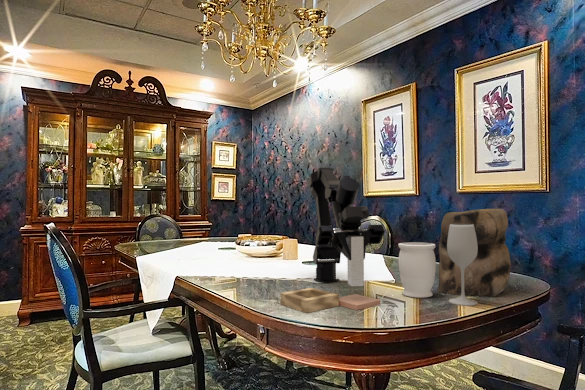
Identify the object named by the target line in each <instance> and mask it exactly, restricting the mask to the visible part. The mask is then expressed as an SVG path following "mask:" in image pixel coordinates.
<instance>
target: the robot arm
mask: <svg viewBox="0 0 585 390" xmlns="http://www.w3.org/2000/svg"><path fill="white" fill-rule="evenodd" d="M307 181H308V188H309V191H310V194H311V196H312V197H313V198H314V199H315V204H316V205H315V207H316V213H317V215H316V216H317V225H318V227H317V230H316V235H315V247H314V251H313V256H312V259H313V261H312V262H313V263H314V264H315V265H316V268H315V277H316V278H314V279H313V281H317V282H321V283H332V282H337V281H338V282H339V281H340V278H337V264H340V263H341V255H344V257H345V258H346V259H347V261H348V260H351V254H350V251H349V248H348V245H347V236H363V244H364V260H366V249H367V246H368V245H379V244H380V243H381V242H382V239H383V237H384V235H385V232H386V230H385V226H384V225H382V224H369V225H368V226H367V229H364V228H363V229H361V227H362V222H361V221H362V220H364V219H368V217H369V216H370V212H369V208H368V205H360V206H353V205H352V204H355V202H356V199H357V196H358V193H359V190H360V183H359V182H358V181H357V180H356V179H354V178H351V175H343V176H342V178H341V179H340V180H339V178H338V177H337V176H336V174H335V173H334V170H333V168H332V167H330V166H329V167H326V166H325V167H324V166H323V167H318V168H317V169H316V171H313V172H312V173H311V174H310V175H309V177H308V180H307ZM329 203H332V205H331V208H332V215H333V216H334V219H335V222H336V223H335V228H334V227H333V225H332V221H331V213H330V212H331V211H330V205H329Z"/></svg>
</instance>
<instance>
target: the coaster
mask: <svg viewBox="0 0 585 390" xmlns="http://www.w3.org/2000/svg"><path fill="white" fill-rule="evenodd" d="M380 305H381V299H377V298H374V297H369V296H366V295H361V294H358V293H354V294H348V295H343V296H339V306H341V307H343V308H348V309H351V310H355V311H359V310H363V309H369V308H372V307H376V306H380Z"/></svg>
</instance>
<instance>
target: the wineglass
mask: <svg viewBox="0 0 585 390" xmlns="http://www.w3.org/2000/svg"><path fill="white" fill-rule="evenodd" d="M447 252H448V255H449V257H450V258H451V260H452V261H453V262H454V263H455V264H456V265H458V266H459V267H460V269H461V289H462V292H461V295H459V297H458V298H457V297H455V298H450V299H449V300H448V302H449V304H453V305H457V306H462V307H463V306H466V307H470V306H471V307H472V306H477V305H478V304H479V302H478V301H476V300H475V299H470V298H468V297H467V295H465V293H464V270H465V268H466V267H467V266H468V265H469V264H470V263H472V262H473V261H474V259H475V258H476V256H477V252H478V245H477V238H476V233H475V228H474V225H473V224H450V227H449V232H448V240H447Z"/></svg>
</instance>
